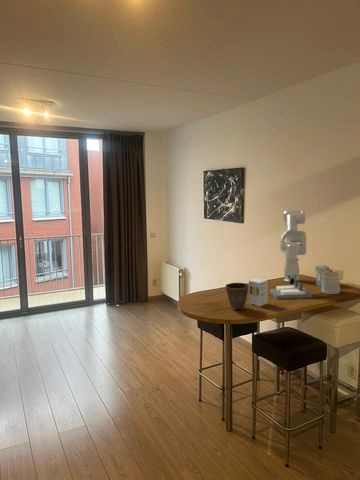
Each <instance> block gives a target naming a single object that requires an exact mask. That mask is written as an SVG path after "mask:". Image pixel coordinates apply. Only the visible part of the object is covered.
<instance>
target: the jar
mask: <svg viewBox="0 0 360 480" xmlns="http://www.w3.org/2000/svg"><path fill="white" fill-rule="evenodd" d="M321 277H322V280H321V281H322V286H321V287H320V288H321V293H323V294H328V295H336V294H337V295H338V294H340V293H341V280H340V279H341V276H340V273H339V272H337V271H335V270H333V268H329V271H325V272H323V275H322V276H321Z"/></svg>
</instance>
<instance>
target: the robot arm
mask: <svg viewBox="0 0 360 480" xmlns="http://www.w3.org/2000/svg"><path fill="white" fill-rule="evenodd" d="M282 217H283V221H284V224H285V231H284V232H283V234H281V237H280V241H279V242H280V244H279V245H280V246H279V248H280V251H281V252H283V253H284V254H285V263H284V278H283V281H285V282H288V283H289V284H290V286H291V285H294V279H297V280H298V282H299V281H300V279H299V278H298V277H300V265H299V262H298V261H300V258H298V256H305V255H306V254H307V234H306V231H304V230H298V225H303V224H305V223H306V219H307V218H306V212H305V211H304V210H303V209H295V210H294V209H290V210H284V211H283V212H282Z"/></svg>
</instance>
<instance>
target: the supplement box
mask: <svg viewBox="0 0 360 480" xmlns="http://www.w3.org/2000/svg"><path fill="white" fill-rule="evenodd" d="M268 282H269V281H268V279H262V278H258V277H257V278H253V279H250V280H249V281H248V304H249V303H251V304H250V305H252V304H254V305H253V306H255V305H257V306H256V307H259V306H260V307H262V305H263V306H265V304H266V305H268V303H269V302H268V300H269V297H268V295H269V294H268V287H269V286H268Z"/></svg>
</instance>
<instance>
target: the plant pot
mask: <svg viewBox="0 0 360 480" xmlns="http://www.w3.org/2000/svg"><path fill="white" fill-rule="evenodd" d="M225 291H226V294H227V298H228V302H229V304H230V308H231V309H232V308H235V309H242V308H243V309H244V308H245V305H246V302H247V297H248V294H249V283H243V282H231V283H227V284H226V285H225ZM243 309H242V310H243Z"/></svg>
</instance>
